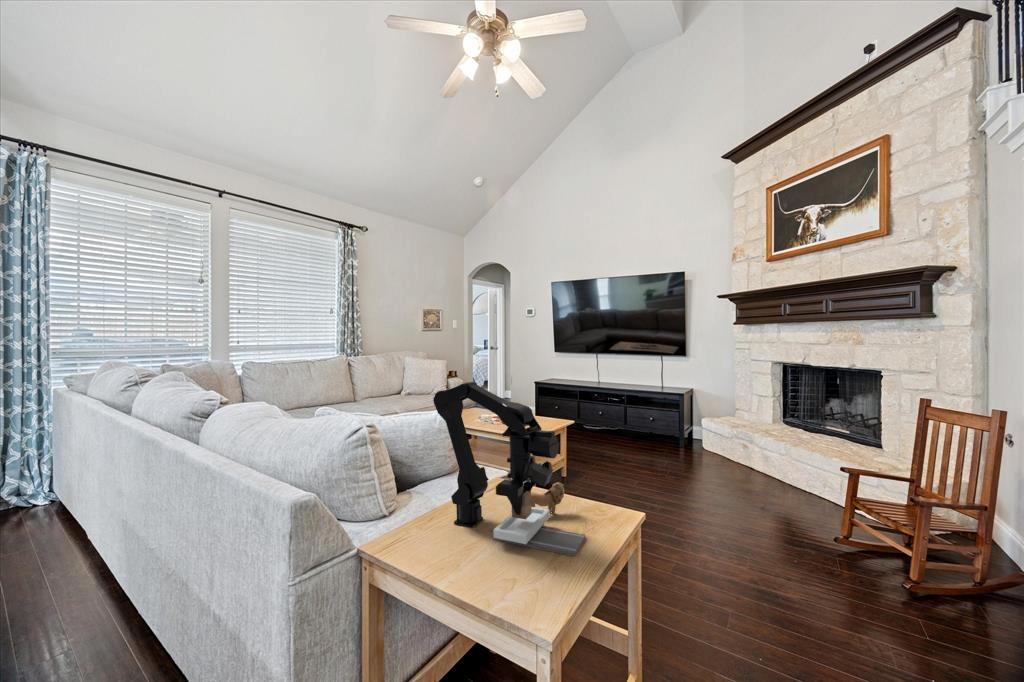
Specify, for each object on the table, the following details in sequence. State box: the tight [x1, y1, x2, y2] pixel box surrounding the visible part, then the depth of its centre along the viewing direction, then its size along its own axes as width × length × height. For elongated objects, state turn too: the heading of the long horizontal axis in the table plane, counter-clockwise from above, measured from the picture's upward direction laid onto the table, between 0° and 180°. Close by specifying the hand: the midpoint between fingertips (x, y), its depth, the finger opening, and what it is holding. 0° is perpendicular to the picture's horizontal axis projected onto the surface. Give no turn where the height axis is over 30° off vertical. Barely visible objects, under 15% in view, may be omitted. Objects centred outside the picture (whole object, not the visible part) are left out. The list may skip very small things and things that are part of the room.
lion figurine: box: [531, 482, 566, 517], centre depth 123 cm, size 15×5×9 cm, turn 106°
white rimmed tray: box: [493, 506, 551, 544], centre depth 110 cm, size 9×17×4 cm, turn 155°
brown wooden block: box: [511, 490, 532, 519], centre depth 110 cm, size 4×4×6 cm
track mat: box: [493, 526, 587, 557], centre depth 108 cm, size 22×10×1 cm, turn 65°
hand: (521, 511), depth 110 cm, fingers closed on brown wooden block, 4 cm apart
